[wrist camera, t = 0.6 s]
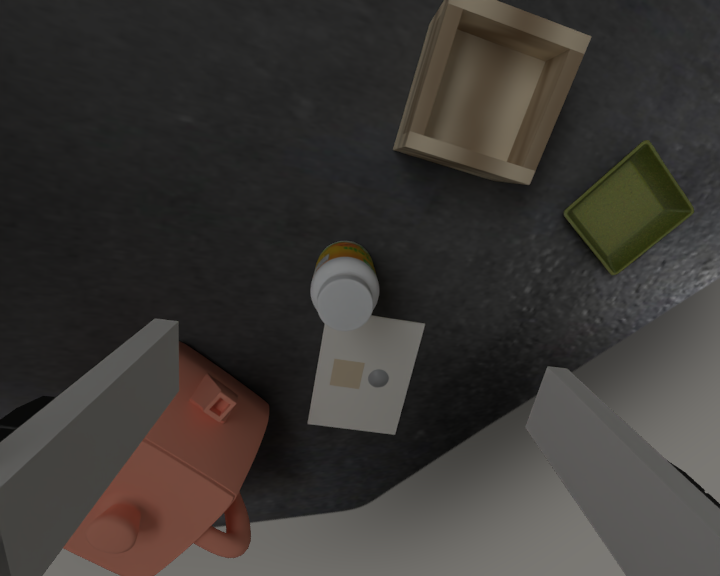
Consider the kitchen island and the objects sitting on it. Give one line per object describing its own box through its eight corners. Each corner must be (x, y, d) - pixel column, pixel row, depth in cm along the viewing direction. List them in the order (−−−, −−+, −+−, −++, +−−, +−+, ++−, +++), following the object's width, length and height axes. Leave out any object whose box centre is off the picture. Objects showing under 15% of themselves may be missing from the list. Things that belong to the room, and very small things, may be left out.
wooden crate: (392, 149, 31) (405, 146, 24) (429, 23, 28) (454, -16, 22) (493, 180, 32) (529, 185, 26) (538, 63, 29) (591, 36, 23)
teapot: (228, 500, 43) (178, 648, 30) (57, 398, 37) (-98, 525, 24) (340, 397, 39) (339, 517, 26) (167, 264, 33) (52, 330, 20)
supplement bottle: (384, 260, 34) (399, 296, 25) (352, 304, 35) (354, 353, 26) (337, 228, 33) (334, 253, 23) (305, 274, 34) (291, 315, 25)
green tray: (599, 271, 36) (613, 278, 34) (549, 210, 33) (562, 213, 31) (676, 208, 34) (696, 211, 32) (629, 138, 32) (648, 137, 30)
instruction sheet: (307, 422, 40) (307, 424, 39) (327, 308, 35) (327, 309, 35) (394, 433, 41) (395, 435, 40) (424, 323, 36) (425, 324, 36)
